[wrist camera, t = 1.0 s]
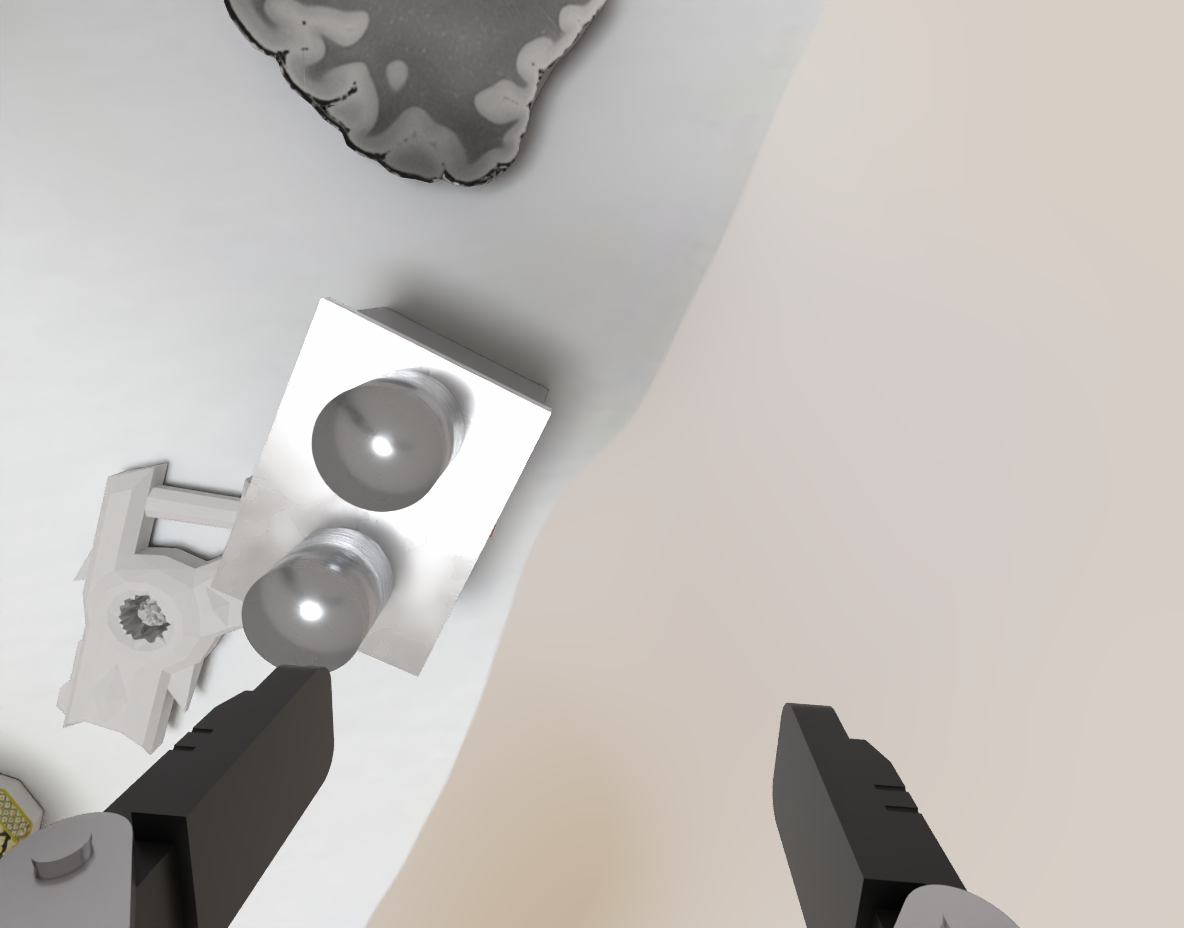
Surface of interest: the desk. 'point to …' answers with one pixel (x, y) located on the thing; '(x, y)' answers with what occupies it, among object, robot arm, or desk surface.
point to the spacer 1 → (387, 440)
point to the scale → (458, 354)
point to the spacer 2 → (318, 600)
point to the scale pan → (408, 536)
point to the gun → (147, 609)
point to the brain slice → (420, 73)
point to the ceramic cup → (16, 814)
